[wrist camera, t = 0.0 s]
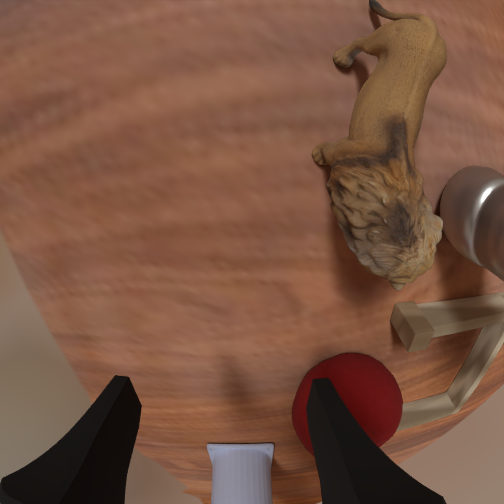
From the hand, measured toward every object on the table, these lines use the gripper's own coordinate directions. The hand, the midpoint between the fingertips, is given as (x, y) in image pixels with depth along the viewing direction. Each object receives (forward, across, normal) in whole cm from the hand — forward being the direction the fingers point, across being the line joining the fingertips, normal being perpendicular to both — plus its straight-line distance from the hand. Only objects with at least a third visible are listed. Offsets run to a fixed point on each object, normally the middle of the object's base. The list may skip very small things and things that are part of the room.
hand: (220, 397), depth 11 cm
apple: (+10, -9, +11) cm, 17 cm away
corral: (+10, -20, +12) cm, 25 cm away
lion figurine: (+10, -8, -10) cm, 17 cm away
